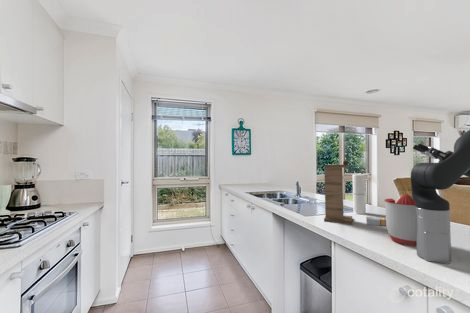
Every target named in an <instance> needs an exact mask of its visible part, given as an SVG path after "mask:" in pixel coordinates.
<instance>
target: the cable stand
mask: <svg viewBox="0 0 470 313" xmlns="http://www.w3.org/2000/svg"><path fill="white" fill-rule="evenodd" d="M349 167H350V164H349V161H348V160H345V161H343V163H342V164H325V165H324V168H323V169H324V204H325V205H324V206H325V207H324V208H325V209H324V210H325V214H324V215H325V217H324V218H323V221H324V222H326V223H327V222H328V223H334V224H335V223H337V224H346V225H353V216H352V215H344V184H343V183H344V182H343V178H344V177H343V176H344V175H343V168H345V169H346V168H347V169H348V168H349Z"/></svg>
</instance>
